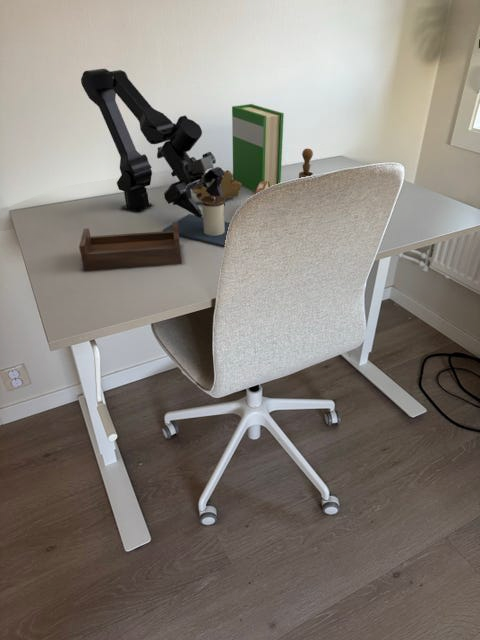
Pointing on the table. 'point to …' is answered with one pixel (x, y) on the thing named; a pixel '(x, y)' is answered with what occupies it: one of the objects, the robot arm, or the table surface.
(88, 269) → the brown wooden tray
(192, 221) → the mat
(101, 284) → the table surface
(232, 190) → the wooden carving
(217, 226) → the canister
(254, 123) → the hardback book
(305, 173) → the brown wooden pawn
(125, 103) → the robot arm
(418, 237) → the table surface
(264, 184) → the tin
